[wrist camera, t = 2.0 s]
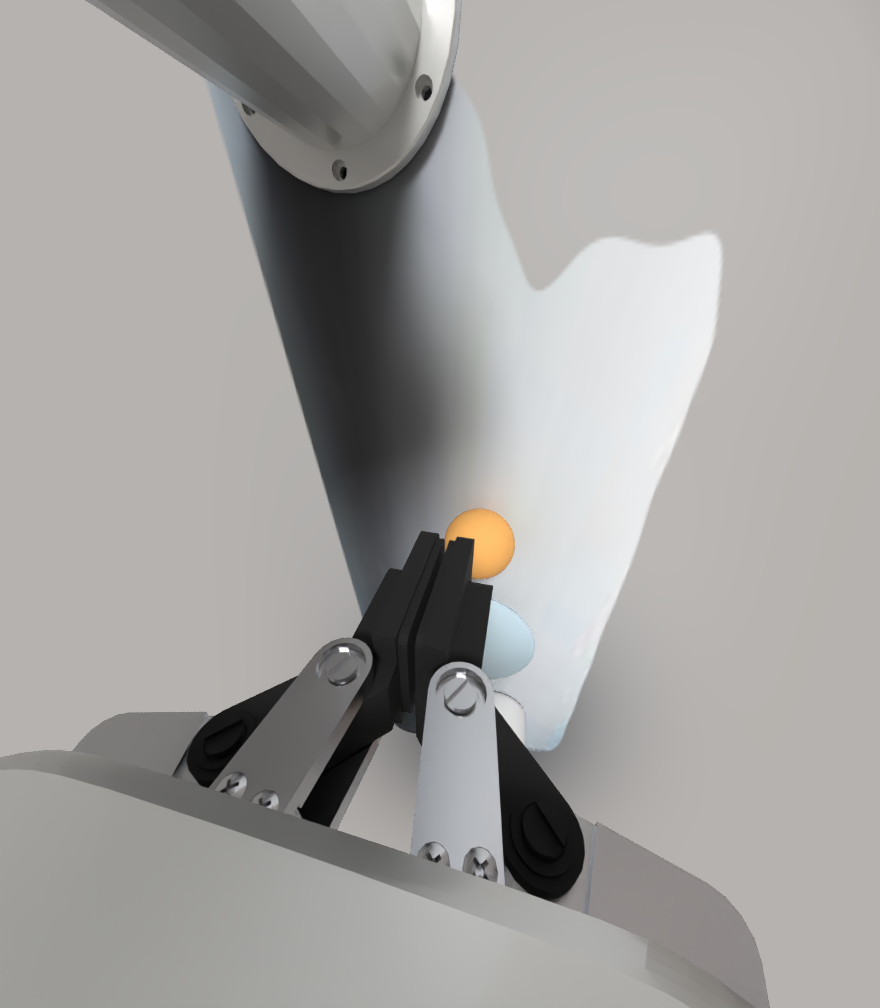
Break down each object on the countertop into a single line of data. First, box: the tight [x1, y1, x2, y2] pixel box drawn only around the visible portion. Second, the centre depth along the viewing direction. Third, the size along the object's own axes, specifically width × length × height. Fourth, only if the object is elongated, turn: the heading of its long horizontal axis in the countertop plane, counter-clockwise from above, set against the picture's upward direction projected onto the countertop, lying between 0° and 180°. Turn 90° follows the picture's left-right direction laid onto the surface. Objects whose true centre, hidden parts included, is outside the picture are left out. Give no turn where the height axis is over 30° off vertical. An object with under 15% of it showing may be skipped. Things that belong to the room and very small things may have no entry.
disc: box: [482, 600, 535, 679], centre depth 38 cm, size 13×13×1 cm
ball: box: [445, 509, 515, 579], centre depth 28 cm, size 6×6×6 cm
